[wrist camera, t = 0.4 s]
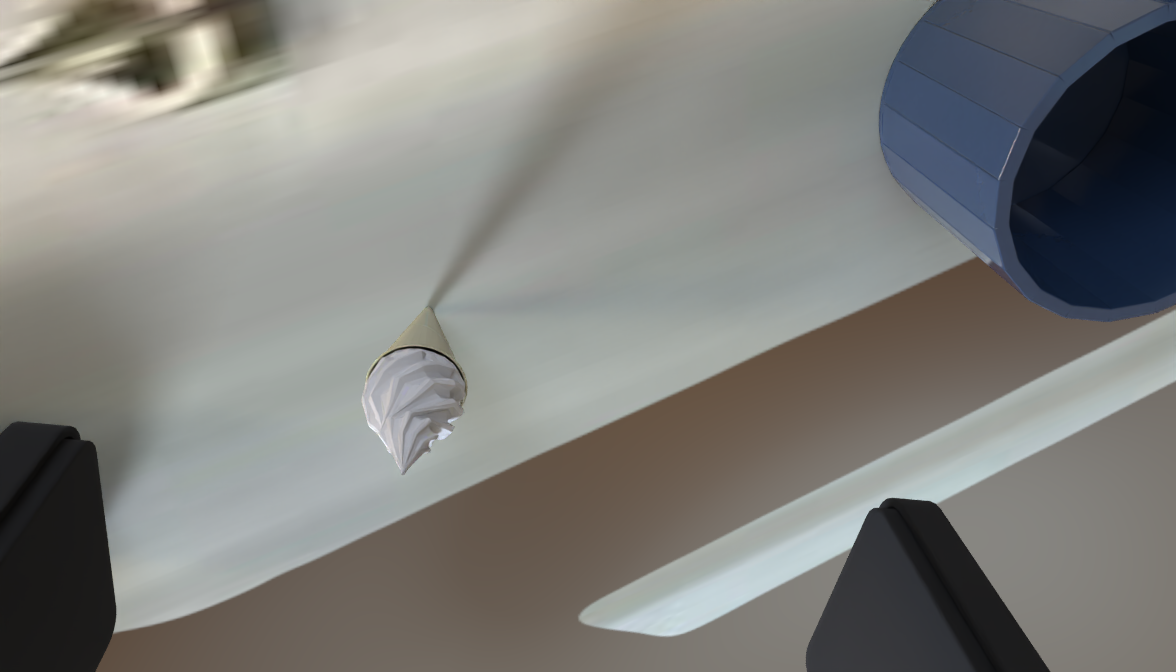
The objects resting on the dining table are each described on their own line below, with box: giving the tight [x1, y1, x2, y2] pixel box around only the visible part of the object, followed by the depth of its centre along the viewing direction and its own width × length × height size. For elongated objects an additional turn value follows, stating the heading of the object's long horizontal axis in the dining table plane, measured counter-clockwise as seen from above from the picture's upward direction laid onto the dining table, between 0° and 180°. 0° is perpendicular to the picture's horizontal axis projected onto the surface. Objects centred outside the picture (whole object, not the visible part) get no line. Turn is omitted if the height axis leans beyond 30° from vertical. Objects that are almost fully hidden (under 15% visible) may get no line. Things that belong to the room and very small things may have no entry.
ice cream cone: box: [361, 307, 467, 475], centre depth 42 cm, size 5×5×15 cm
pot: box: [879, 0, 1176, 322], centre depth 40 cm, size 14×14×12 cm
